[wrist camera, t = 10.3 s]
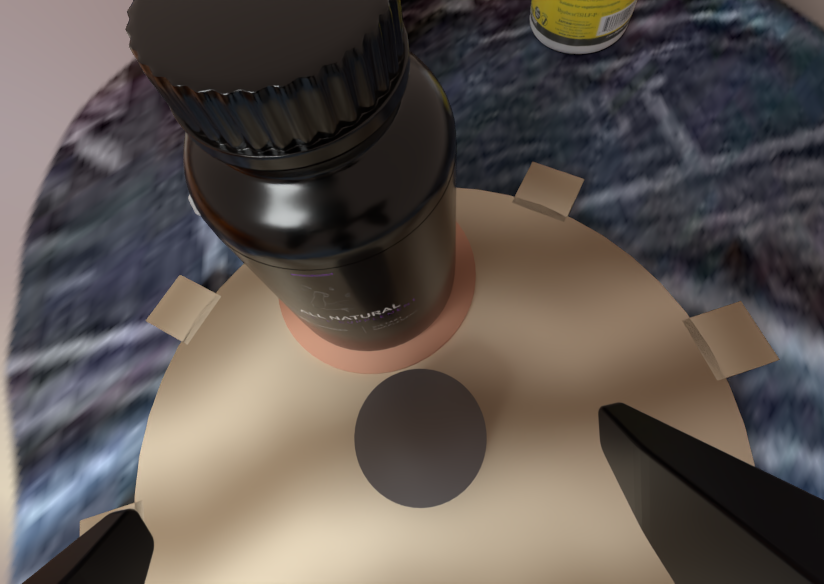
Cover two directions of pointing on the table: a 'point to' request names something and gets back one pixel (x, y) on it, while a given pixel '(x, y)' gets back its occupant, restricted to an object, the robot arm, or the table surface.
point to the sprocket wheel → (433, 417)
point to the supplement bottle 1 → (314, 154)
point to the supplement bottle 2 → (580, 23)
